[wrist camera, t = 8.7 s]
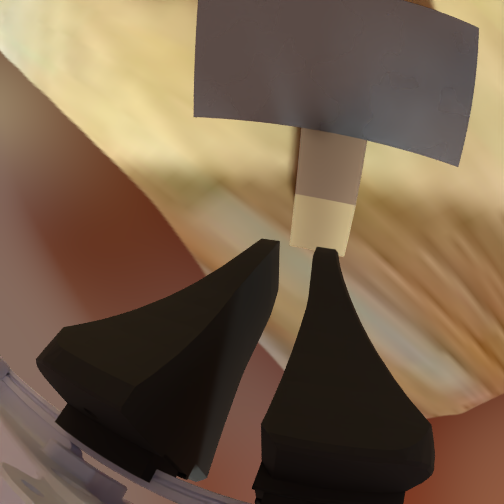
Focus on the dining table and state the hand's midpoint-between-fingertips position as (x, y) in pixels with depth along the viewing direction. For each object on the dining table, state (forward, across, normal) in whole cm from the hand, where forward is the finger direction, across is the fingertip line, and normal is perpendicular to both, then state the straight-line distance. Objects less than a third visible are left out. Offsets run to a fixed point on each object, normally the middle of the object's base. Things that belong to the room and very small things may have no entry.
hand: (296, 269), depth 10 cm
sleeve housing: (+8, -1, -7) cm, 11 cm away
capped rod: (+8, -1, -4) cm, 10 cm away
